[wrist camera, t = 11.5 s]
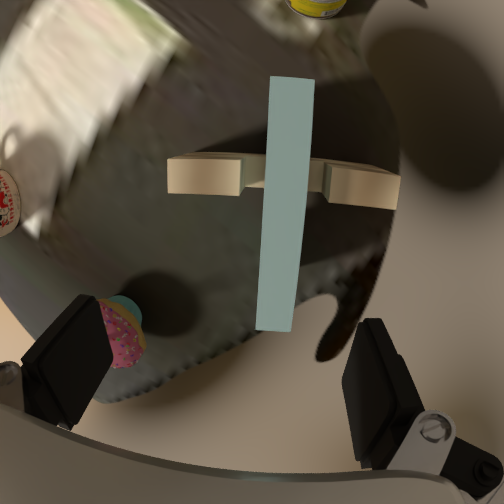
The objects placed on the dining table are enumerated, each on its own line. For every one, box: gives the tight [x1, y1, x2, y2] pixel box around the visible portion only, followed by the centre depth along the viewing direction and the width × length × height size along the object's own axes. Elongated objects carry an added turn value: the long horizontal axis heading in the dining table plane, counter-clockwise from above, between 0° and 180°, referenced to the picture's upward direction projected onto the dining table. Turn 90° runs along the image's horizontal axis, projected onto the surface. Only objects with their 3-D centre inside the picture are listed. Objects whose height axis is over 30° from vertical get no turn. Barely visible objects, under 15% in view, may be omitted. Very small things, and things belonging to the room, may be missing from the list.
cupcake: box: [97, 295, 146, 368], centre depth 28 cm, size 9×8×12 cm
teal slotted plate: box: [256, 76, 315, 332], centre depth 22 cm, size 16×2×10 cm, turn 177°
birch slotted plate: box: [168, 152, 401, 210], centre depth 23 cm, size 16×2×7 cm, turn 87°
